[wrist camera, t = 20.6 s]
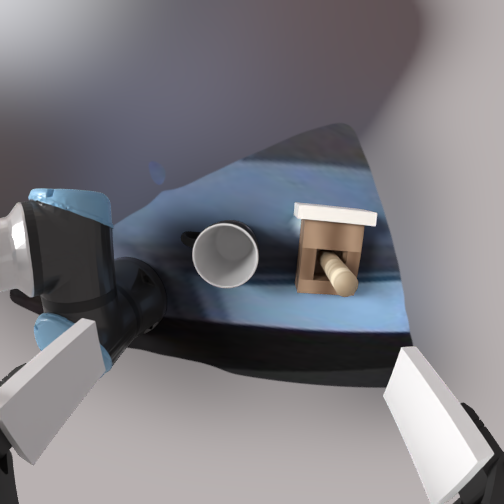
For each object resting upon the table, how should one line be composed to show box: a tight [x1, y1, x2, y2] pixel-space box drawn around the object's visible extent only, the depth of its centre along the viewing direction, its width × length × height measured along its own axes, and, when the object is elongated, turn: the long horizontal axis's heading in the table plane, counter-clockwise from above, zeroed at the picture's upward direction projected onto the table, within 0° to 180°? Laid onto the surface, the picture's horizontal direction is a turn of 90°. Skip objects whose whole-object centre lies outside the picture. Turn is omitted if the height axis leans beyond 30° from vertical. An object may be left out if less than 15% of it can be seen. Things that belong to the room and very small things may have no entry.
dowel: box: [317, 249, 358, 297], centre depth 39 cm, size 3×3×14 cm
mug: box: [181, 220, 259, 288], centre depth 42 cm, size 12×9×10 cm
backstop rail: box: [294, 202, 377, 226], centre depth 42 cm, size 12×2×6 cm, turn 86°
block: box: [295, 219, 364, 296], centre depth 44 cm, size 9×11×4 cm
